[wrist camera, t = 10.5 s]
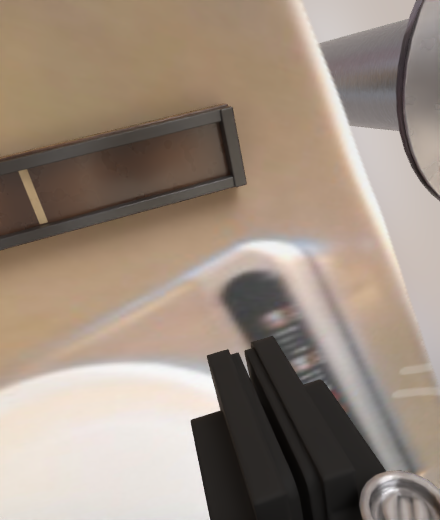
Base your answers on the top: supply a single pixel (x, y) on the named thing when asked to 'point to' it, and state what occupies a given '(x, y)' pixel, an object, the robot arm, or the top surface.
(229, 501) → the robot arm
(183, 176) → the rail
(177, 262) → the top surface
